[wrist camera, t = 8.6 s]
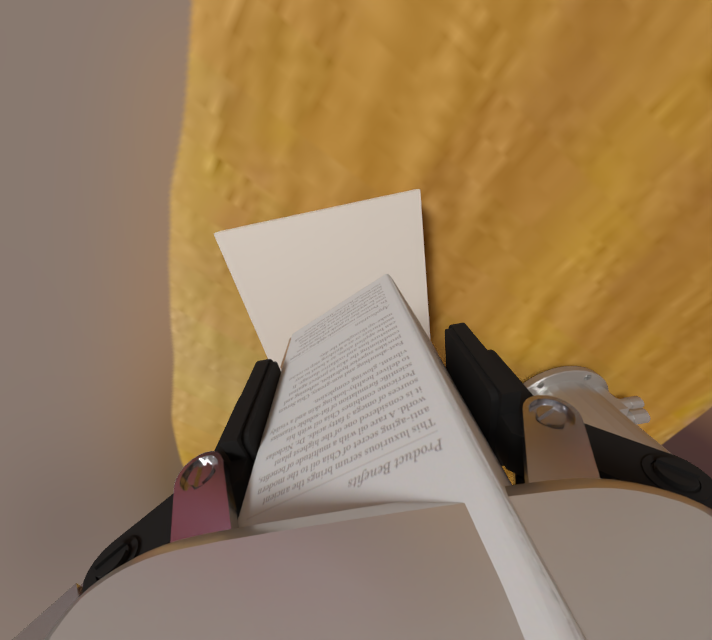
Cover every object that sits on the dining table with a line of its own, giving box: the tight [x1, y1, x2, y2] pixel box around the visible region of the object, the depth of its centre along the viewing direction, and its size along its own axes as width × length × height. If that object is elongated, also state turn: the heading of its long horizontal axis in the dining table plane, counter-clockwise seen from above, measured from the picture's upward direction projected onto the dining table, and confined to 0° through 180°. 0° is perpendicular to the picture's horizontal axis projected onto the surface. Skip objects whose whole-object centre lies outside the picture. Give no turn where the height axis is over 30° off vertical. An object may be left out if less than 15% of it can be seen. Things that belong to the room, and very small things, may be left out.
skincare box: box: [238, 274, 587, 640], centre depth 9 cm, size 6×4×12 cm
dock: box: [214, 189, 430, 371], centre depth 25 cm, size 16×16×3 cm
